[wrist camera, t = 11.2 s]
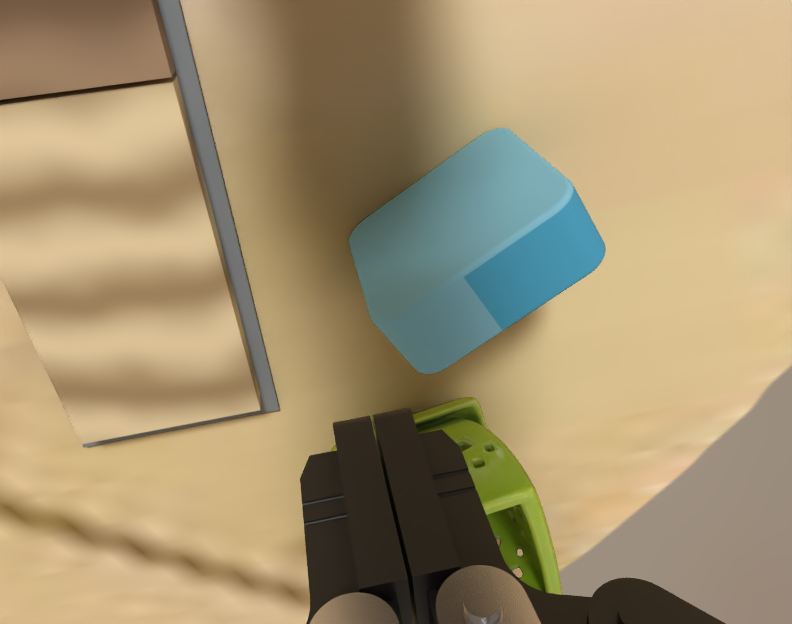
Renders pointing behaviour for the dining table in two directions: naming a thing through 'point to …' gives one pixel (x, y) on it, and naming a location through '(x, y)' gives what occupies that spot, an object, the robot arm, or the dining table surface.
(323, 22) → the dining table surface
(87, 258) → the oak plank
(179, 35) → the underlay
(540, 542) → the flower pot
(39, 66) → the walnut plank
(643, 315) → the dining table surface
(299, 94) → the dining table surface
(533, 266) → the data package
